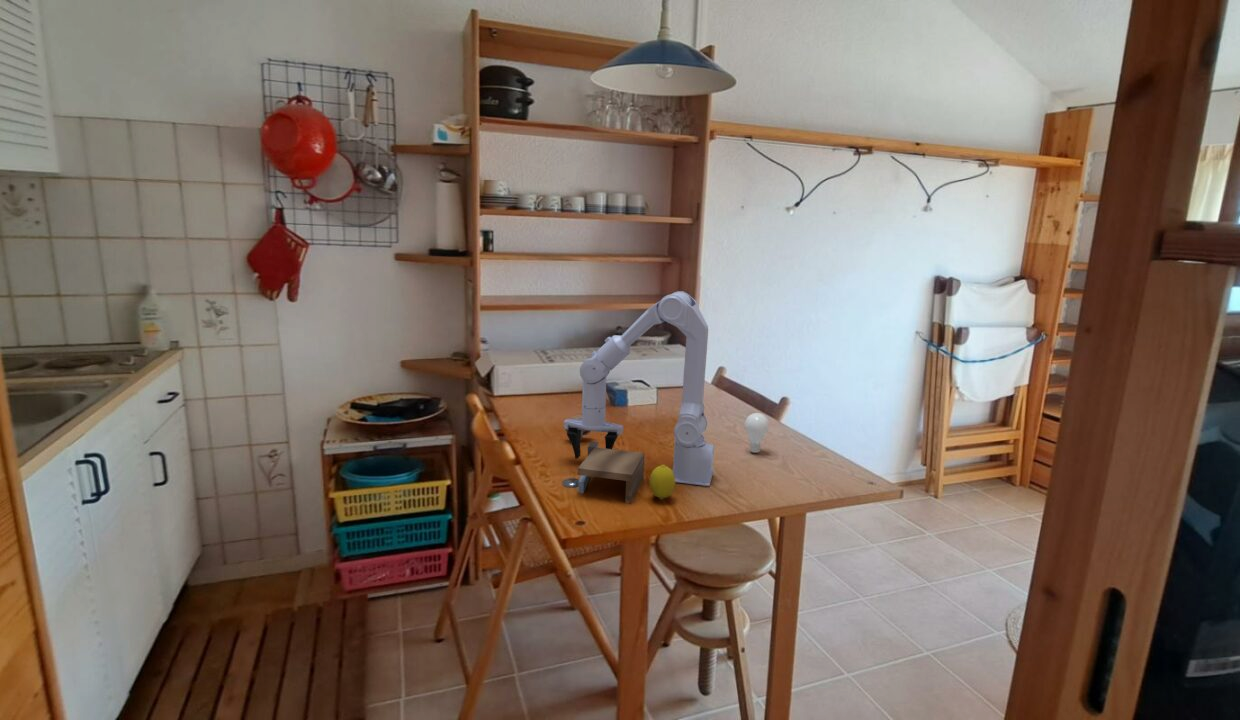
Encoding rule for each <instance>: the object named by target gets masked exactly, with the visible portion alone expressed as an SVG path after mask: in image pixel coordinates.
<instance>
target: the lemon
mask: <svg viewBox="0 0 1240 720" xmlns="http://www.w3.org/2000/svg"><path fill="white" fill-rule="evenodd" d="M649 477H650V478H649V488H650V489H649V490H651V491H650V492H651V493H652V494H653V496H655V497H656V498H659V499H660V500H661V501H662V500H664V499H665V498H666V499H667V498H668V497H670V496H671V495H672V494H673V492H674V491H675V487H676V482H675V476H674V473H673V469H671V468H670V467H669V466H666V465H665V464H661V465H659V466H657V467H655V468H654V469H653V470H652V472H651V474H650V476H649Z"/></svg>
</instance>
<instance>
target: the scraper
mask: <svg viewBox="0 0 1240 720" xmlns="http://www.w3.org/2000/svg"><path fill="white" fill-rule="evenodd" d="M595 447H596V448H599V441H589V444H588V446H587V456H588V455H589V454H590V453H591V451H592V450H593V449H594V448H595ZM590 477H591V476H584V475H580V478H579V482H578V487H577V488H578V489H577V494H578V493H579V494H584V493H585V491H586V488H587V485H588V483H589V480H590Z"/></svg>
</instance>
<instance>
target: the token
mask: <svg viewBox="0 0 1240 720" xmlns="http://www.w3.org/2000/svg"><path fill="white" fill-rule="evenodd" d="M579 480H580V478H574V477H572V478H571V477H570V478H565V479H563V480H562V486H563V487H566V488H569V489H572V488H573V489H575V488H578V482H579Z"/></svg>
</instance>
